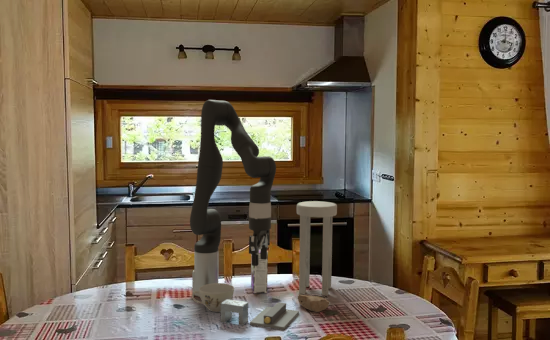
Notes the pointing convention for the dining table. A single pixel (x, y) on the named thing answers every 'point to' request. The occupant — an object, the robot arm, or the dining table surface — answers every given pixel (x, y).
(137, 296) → the dining table surface
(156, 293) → the dining table surface
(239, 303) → the grey arch block
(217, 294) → the teacup
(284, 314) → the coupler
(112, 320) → the dining table surface
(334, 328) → the dining table surface
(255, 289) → the candy box
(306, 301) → the stone
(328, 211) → the stool
